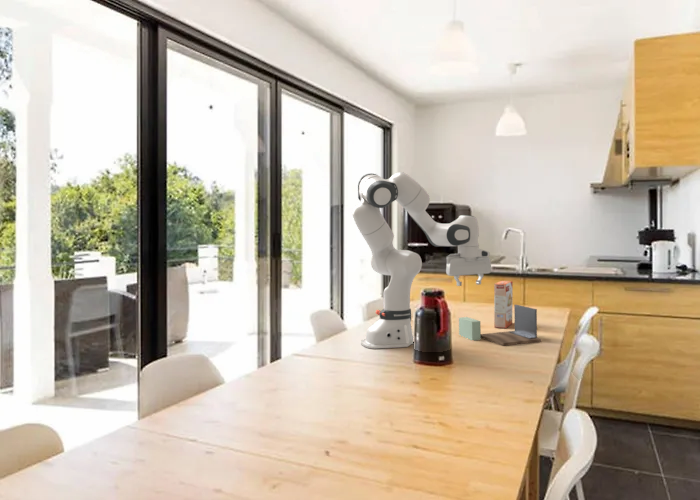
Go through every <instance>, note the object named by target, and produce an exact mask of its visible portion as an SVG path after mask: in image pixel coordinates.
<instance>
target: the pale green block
mask: <svg viewBox="0 0 700 500" xmlns="http://www.w3.org/2000/svg"><path fill="white" fill-rule="evenodd" d="M481 332H482V331H481V321H480V320H479V319H475V318H471V317H468V316H464V317H462V316H461V317H458V334H459V335H461V336H460V337H462V336H463V338H464V337H465V338H464V339H467V338H468V339H467V340H469V339H470V341H472V340H474V341H480V340H482V338H481V334H482V333H481ZM459 335H458V336H459Z"/></svg>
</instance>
